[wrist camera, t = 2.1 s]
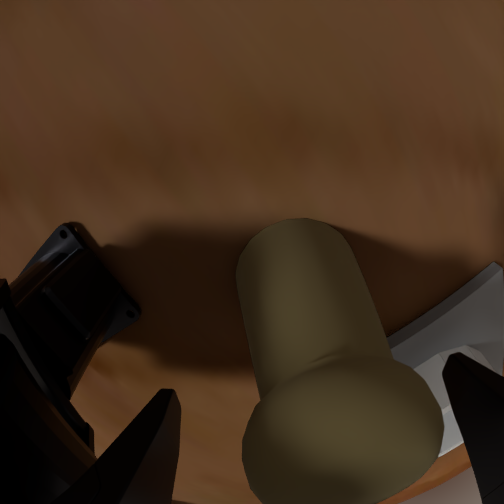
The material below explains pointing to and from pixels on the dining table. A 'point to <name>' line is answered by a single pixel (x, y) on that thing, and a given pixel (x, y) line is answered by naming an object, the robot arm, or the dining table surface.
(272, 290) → the cork
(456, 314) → the cup stand
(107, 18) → the dining table surface
